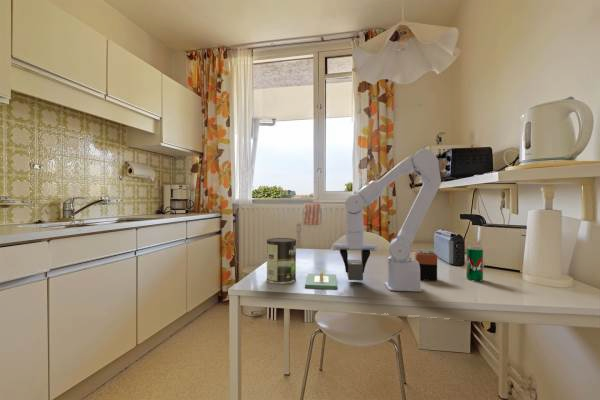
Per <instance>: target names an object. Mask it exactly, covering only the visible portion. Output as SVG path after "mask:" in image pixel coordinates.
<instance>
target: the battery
mask: <svg viewBox="0 0 600 400" xmlns="http://www.w3.org/2000/svg"><path fill="white" fill-rule="evenodd" d="M414 254H415V255H414V256H415V257H414V260H416V261H418V262H419V265H420V281H432V282H437V281H438V255H437V254H436V253H435V251H434V250H427V252H424V250H418V251H417V252H416V251H415V253H414Z"/></svg>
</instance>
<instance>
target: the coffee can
mask: <svg viewBox="0 0 600 400" xmlns="http://www.w3.org/2000/svg"><path fill="white" fill-rule="evenodd" d="M296 258H297V239H295V238H290V237H274V238H273V237H272V238H267V239H266V282H268V283H270V284H274V285H287V284H291V283H294V282H296V281H297V280H296V279H297V278H296V277H297V275H296V273H297V272H296V271H297V265H296V264H297V259H296Z"/></svg>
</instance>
